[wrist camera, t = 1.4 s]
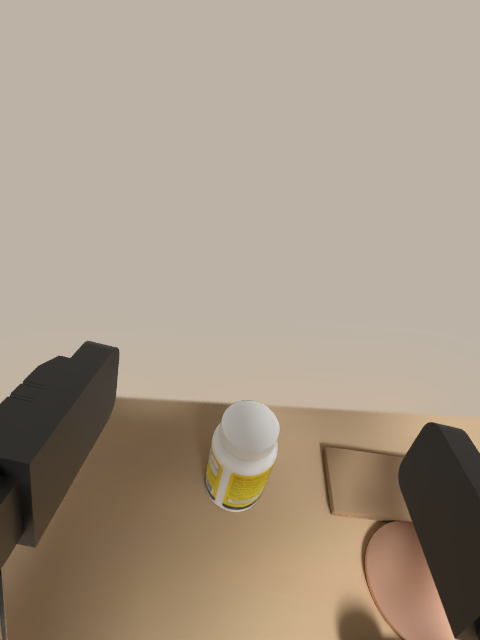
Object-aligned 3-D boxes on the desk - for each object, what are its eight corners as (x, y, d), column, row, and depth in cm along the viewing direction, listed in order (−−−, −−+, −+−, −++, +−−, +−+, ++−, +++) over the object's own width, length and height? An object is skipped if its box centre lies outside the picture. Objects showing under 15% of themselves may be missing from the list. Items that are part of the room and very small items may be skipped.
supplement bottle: (272, 478, 30) (298, 420, 25) (241, 527, 27) (263, 472, 22) (226, 445, 32) (241, 384, 27) (192, 487, 29) (201, 427, 23)
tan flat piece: (448, 468, 34) (462, 455, 32) (586, 810, 19) (624, 815, 18) (322, 451, 33) (331, 436, 32) (367, 792, 18) (387, 796, 17)
